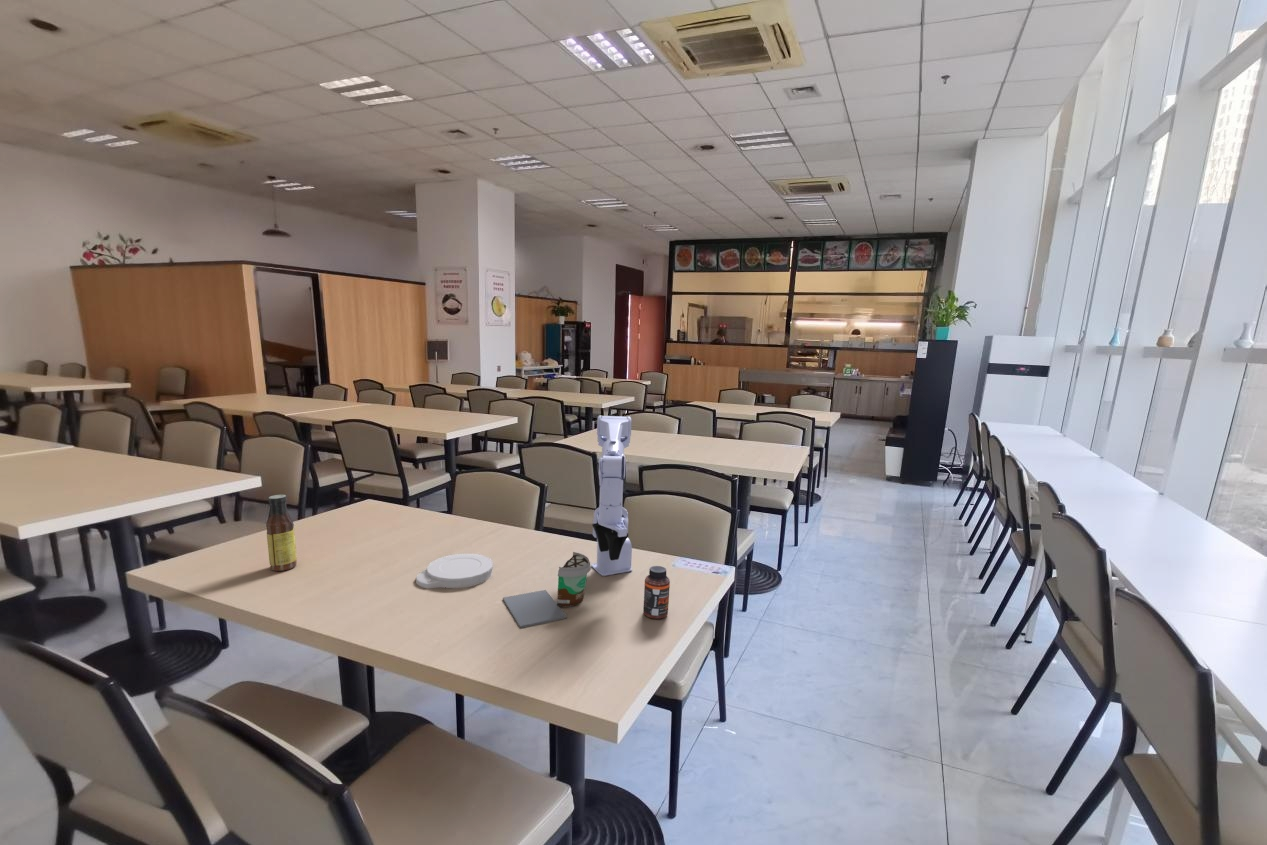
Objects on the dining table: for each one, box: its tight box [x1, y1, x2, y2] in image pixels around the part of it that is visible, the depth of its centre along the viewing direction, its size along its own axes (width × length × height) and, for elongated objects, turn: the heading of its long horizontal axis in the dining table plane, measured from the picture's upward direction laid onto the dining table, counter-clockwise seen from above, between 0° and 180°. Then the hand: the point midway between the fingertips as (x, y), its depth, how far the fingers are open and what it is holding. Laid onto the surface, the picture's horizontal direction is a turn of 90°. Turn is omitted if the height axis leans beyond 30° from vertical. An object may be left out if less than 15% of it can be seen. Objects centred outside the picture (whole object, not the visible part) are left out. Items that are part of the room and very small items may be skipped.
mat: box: [502, 589, 568, 629], centre depth 131 cm, size 11×15×1 cm
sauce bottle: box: [265, 494, 298, 572], centre depth 147 cm, size 6×6×20 cm
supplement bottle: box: [642, 565, 671, 620], centre depth 130 cm, size 6×6×11 cm
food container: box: [556, 551, 592, 607], centre depth 135 cm, size 12×6×10 cm, turn 169°
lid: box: [415, 552, 494, 590], centre depth 147 cm, size 17×20×3 cm
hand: (609, 555), depth 138 cm, fingers open, 5 cm apart
